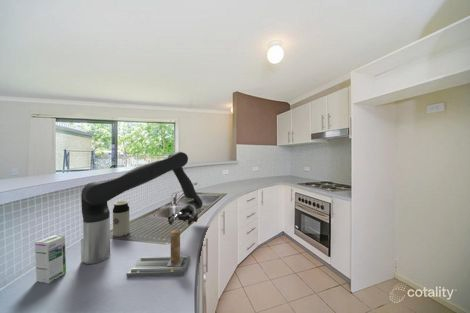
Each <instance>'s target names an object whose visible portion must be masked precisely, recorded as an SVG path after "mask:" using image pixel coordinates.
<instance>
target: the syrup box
mask: <svg viewBox="0 0 470 313" xmlns="http://www.w3.org/2000/svg"><path fill="white" fill-rule="evenodd" d="M34 251H35V252H34V253H35V278H36V280H35V281H36V282H38V281H39V282H38V283H42V282H45V283H44V284H50V283H51V282H53V281H55V280H56V279H58V278H60V277H62V276H63V275H65V274H66V273H67V266H66V265H67V264H66V263H67V262H66V261H67V260H66V237H65V236H64V235H59V234H56V235H55V234H54V235H51V236H48V237H45V238H43V239H40V240H37V241H35V242H34ZM54 279H55V280H54Z"/></svg>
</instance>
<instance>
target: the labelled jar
mask: <svg viewBox="0 0 470 313" xmlns="http://www.w3.org/2000/svg"><path fill="white" fill-rule="evenodd" d="M130 226H131V225H130V205H129V201H128V200H121V201H119V200H118V201H116V202H114V203H113V208H112V235H114V236H113V237H116V236H119V237H123V235H124V236H127V235H128V234H130Z"/></svg>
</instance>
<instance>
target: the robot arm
mask: <svg viewBox="0 0 470 313" xmlns="http://www.w3.org/2000/svg"><path fill="white" fill-rule="evenodd" d="M188 160H189V156H188V154H186V153H185V152H183V151H177V152H176V151H175V152H172V153H170V154H168V157H166V158H163V159H160V160H154V161H150V162H147V163H144V164H142V165H139V166H136V167H134V168H132V169H130V170H129V171H127V172H125V173H124V174H122V175H120V176H118V177H115V178H113V179H110V180H106V181H104V182H100V181H91V182H90V183H87V184H86V185H84V187H83V188H82V190H81V194H80V196H81V197H80V200H81V202H80V203H81V215H82V225H83V226H82V227H83V228H82V230H83V233H82V234H83V238H81V239H80V255H81V256H80V261H81V263H84V264H86V265H92V264H98V263H100V262H103V261H105V260H106V259H108V258H109V257H110V255H111V218H110V216H111V211H110V209H109V206H108V202H109V201H111V200H112V199H114V198H115V197H116V198H117V196H119V195H121V194H123V193H125V192H127V191H129V190H132V189H134V188H137V187H139V186H141V185H144V184H146V183H149V182H151V181H152V180H154V179H157V178H159V177H161V176H163V175H165V174H166V173H168V172H171V171H173V173H174V175H175V177H176V179H177V181H178V183H179V185H180V188H181V190H182V192H183V195H184V197H185V198H186V199H189V200H187V201H186V202H185V205H184V206H183V207H182V208H181V209H180V210H179V212H178V213H176V214H175V212H174V213H170V215H168V216H167V222H168V224H169V225H173V224H174V223H175V222H176V223H178V222H187V225H189V226H190V225H191V224H193V223H194V222H195V223H196V222H198V219H199V213H196V212H197V211H198V210H199V209H201V208H203V205H204V204H203V200H202V199H201V197H200V196H199V195H198V194H197V191H196V190H195V188H194V184H193V183H192V180H191V179H190V177H189V176H188V175H187V174H186V172H185V171H184V168H183V167H185V166H186V165H187V164H188V162H189V161H188Z"/></svg>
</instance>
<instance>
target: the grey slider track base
mask: <svg viewBox="0 0 470 313" xmlns="http://www.w3.org/2000/svg"><path fill="white" fill-rule="evenodd" d="M180 257H184V259H183V262H182V264H181V266H180V267H167V264H168V263H169V261H170V259H171V256H142V257H141V256H140V258H138V259H137V260H136V262H135V263H134V264H133V265H132V266H131V267H130V269H129V270H128V271H127V272H126V278H151V277H153V278H154V277H184V276H185V274H186V271H187V269H188V266H189V264H190V261H191V256H186V255H184V256H181V255H180Z"/></svg>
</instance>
